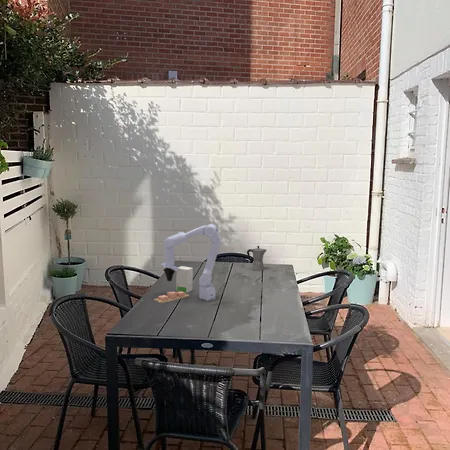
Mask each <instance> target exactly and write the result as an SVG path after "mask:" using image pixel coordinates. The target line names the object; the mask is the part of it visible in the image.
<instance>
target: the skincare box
mask: <svg viewBox="0 0 450 450" xmlns="http://www.w3.org/2000/svg"><path fill="white" fill-rule="evenodd" d="M177 267H178V266H177ZM193 269H194V268H193V267H191V266H190V267H189V266H183V265H181V266H179V267H178V271H176V276H175V277H176V279H175V281H176V282H175V292H179V291H182V292H185V294H186V293H190V292H191V291H193V278H194V277H193V275H194V270H193Z"/></svg>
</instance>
